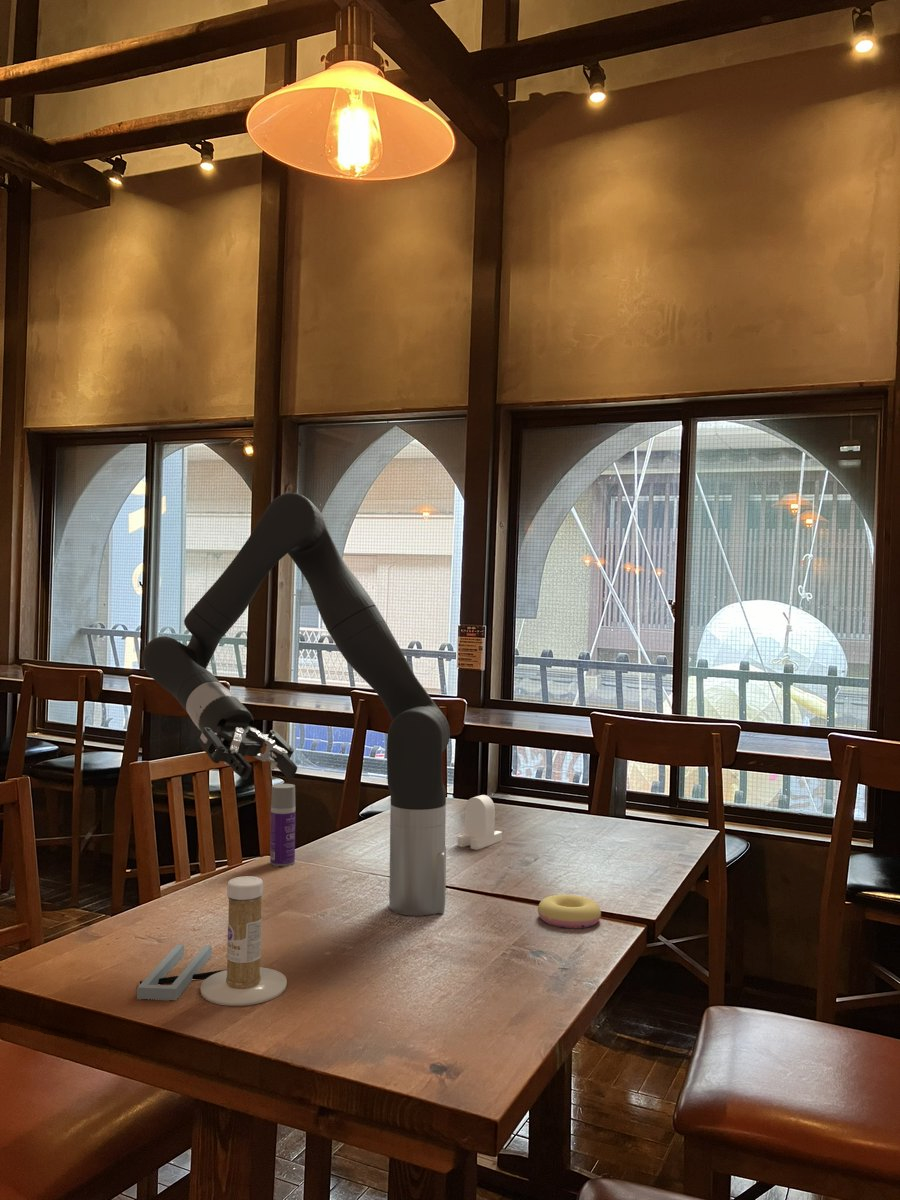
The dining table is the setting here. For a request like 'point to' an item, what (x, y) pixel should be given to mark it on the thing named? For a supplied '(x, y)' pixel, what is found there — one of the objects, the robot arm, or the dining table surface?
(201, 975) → the black marker pen
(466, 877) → the dining table surface
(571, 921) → the donut
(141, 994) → the grey u-shaped piece
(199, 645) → the robot arm
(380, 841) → the dining table surface
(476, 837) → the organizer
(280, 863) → the container
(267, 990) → the coaster
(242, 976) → the sprinkles bottle
